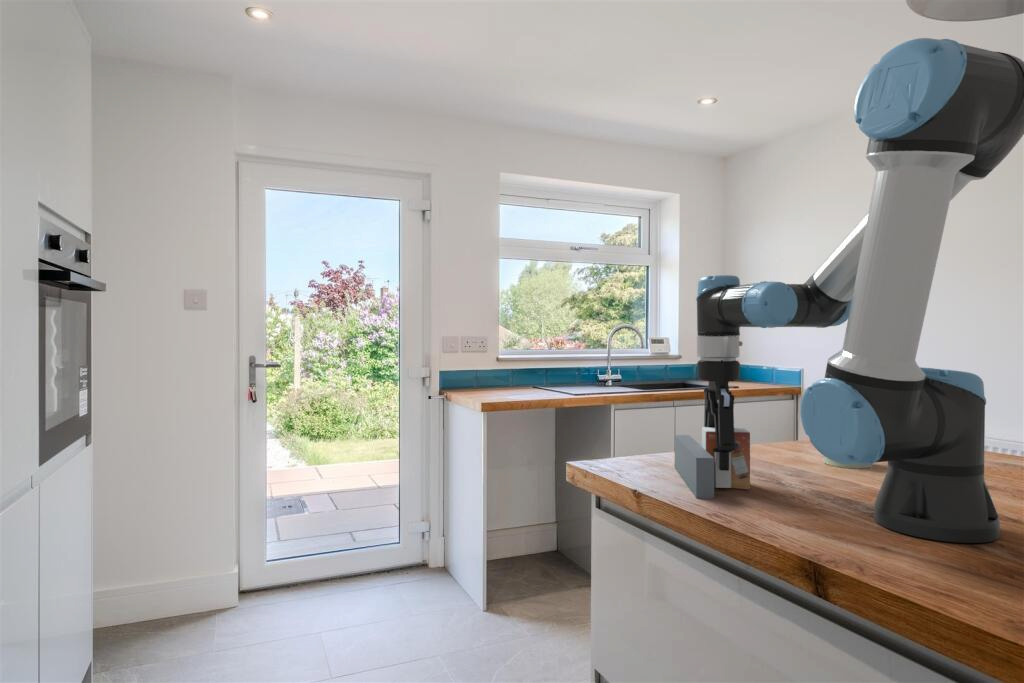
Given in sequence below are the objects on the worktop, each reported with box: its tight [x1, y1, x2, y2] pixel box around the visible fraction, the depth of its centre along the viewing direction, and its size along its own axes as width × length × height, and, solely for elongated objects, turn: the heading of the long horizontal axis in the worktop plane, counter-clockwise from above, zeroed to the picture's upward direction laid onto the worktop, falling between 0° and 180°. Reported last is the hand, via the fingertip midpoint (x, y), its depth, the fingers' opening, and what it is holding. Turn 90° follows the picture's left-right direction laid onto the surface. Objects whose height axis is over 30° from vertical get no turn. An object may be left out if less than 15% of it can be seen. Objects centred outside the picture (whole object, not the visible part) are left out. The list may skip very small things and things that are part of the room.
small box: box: [701, 426, 751, 490], centre depth 115 cm, size 8×6×10 cm
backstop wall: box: [674, 434, 715, 499], centre depth 118 cm, size 24×3×7 cm, turn 174°
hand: (718, 482), depth 115 cm, fingers open, 7 cm apart
